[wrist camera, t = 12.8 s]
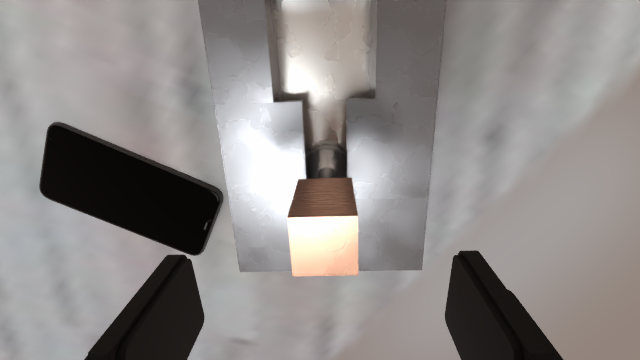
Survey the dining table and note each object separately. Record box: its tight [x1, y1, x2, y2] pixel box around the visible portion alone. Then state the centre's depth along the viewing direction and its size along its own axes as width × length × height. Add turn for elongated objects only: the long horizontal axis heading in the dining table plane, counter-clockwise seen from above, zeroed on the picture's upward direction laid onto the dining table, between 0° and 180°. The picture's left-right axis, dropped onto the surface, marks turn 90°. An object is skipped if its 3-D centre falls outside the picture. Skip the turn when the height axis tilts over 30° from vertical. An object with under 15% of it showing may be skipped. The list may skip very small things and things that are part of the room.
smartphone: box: [39, 123, 223, 256], centre depth 27 cm, size 7×1×15 cm
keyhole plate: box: [198, 0, 446, 272], centre depth 22 cm, size 22×14×4 cm, turn 2°
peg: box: [287, 144, 358, 276], centre depth 20 cm, size 4×4×11 cm
